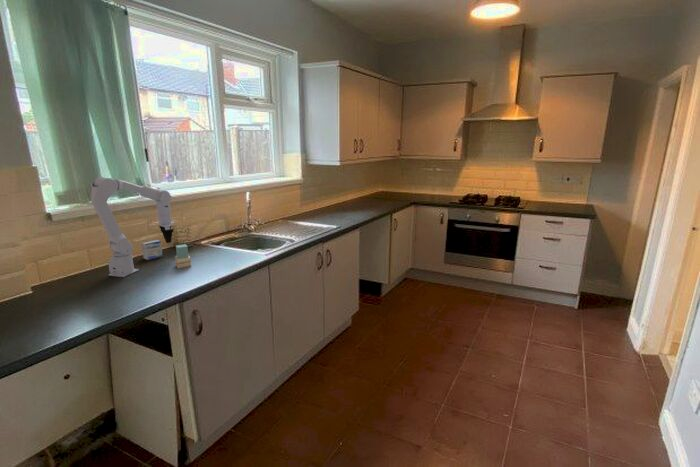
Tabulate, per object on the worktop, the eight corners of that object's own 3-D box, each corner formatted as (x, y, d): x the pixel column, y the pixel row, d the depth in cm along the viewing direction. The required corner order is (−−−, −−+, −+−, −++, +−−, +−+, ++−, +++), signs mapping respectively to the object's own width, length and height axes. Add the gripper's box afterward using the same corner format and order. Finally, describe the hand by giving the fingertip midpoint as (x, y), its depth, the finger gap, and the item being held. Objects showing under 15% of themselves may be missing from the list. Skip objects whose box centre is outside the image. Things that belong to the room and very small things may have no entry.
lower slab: (191, 267, 180) (190, 262, 180) (177, 269, 177) (177, 264, 177) (189, 263, 185) (188, 258, 185) (176, 265, 182) (175, 260, 182)
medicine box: (147, 260, 189) (145, 244, 187) (143, 258, 192) (141, 242, 190) (162, 256, 195) (160, 240, 193) (158, 255, 198) (156, 239, 196)
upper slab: (190, 262, 180) (190, 257, 179) (177, 264, 177) (176, 259, 176) (188, 258, 185) (188, 254, 184) (175, 260, 182) (175, 256, 181)
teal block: (188, 257, 179) (187, 246, 178) (178, 258, 177) (177, 247, 176) (186, 254, 183) (185, 244, 182) (176, 256, 181) (175, 245, 179)
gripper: (175, 216, 179) (178, 243, 182) (171, 211, 191) (174, 236, 194) (158, 217, 175) (162, 245, 179) (156, 212, 187) (159, 238, 191)
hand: (167, 240), depth 186 cm, fingers open, 7 cm apart
